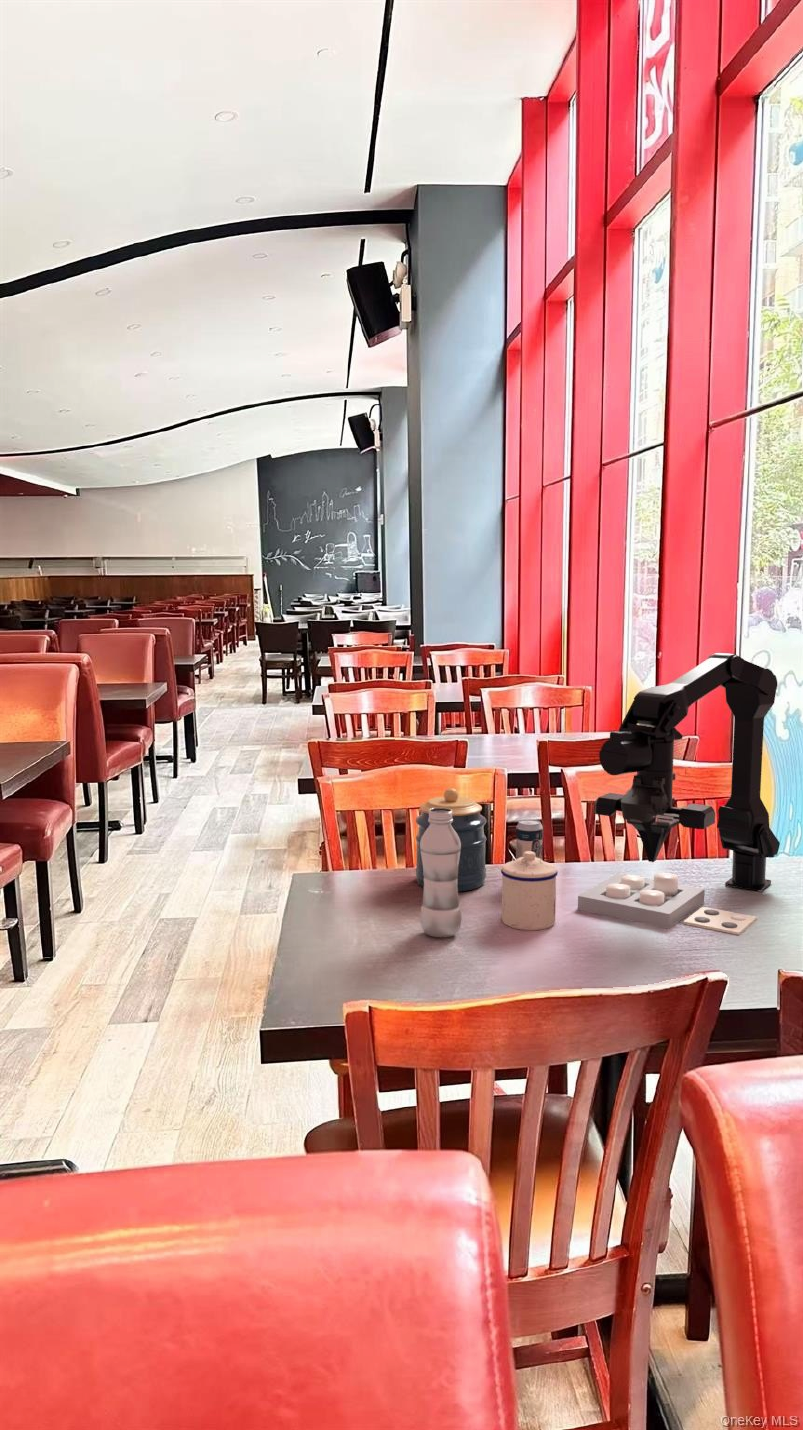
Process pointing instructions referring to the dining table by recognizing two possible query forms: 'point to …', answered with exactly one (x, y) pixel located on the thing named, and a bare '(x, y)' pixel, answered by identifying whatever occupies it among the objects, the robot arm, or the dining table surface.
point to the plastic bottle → (440, 875)
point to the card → (720, 920)
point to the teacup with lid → (528, 893)
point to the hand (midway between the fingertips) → (652, 861)
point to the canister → (469, 833)
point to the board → (637, 911)
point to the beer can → (529, 838)
